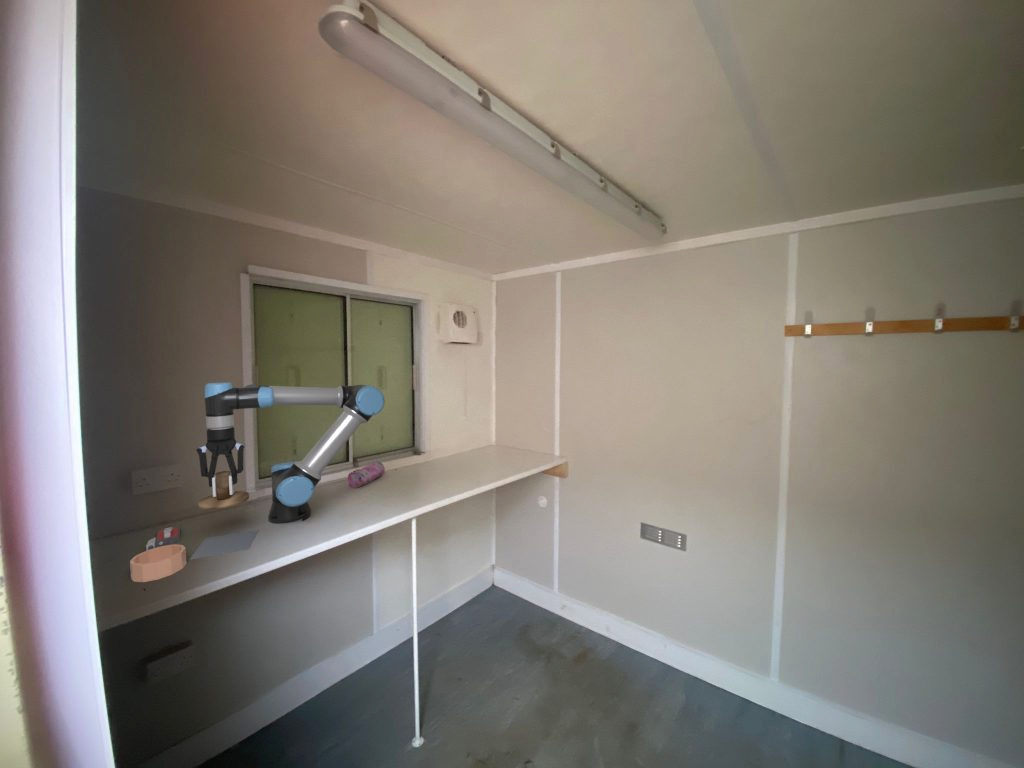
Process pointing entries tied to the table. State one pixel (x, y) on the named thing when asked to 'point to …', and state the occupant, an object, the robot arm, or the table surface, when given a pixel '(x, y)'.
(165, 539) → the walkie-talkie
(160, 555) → the terracotta bowl
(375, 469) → the pencil case
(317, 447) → the robot arm
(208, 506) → the walnut lid
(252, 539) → the slate mat
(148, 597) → the table surface
